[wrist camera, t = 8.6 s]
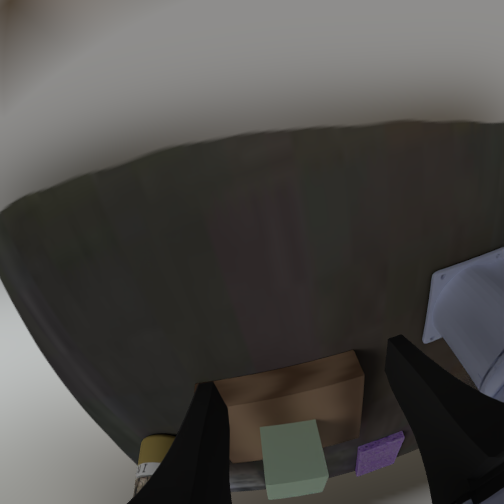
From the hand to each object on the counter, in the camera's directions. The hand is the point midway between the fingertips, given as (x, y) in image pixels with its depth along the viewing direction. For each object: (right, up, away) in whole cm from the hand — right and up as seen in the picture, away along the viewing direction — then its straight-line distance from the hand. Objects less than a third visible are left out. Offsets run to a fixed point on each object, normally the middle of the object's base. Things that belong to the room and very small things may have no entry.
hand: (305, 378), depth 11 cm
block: (+1, -12, +13) cm, 18 cm away
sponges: (+18, -26, +26) cm, 41 cm away
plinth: (+1, -10, +16) cm, 19 cm away
